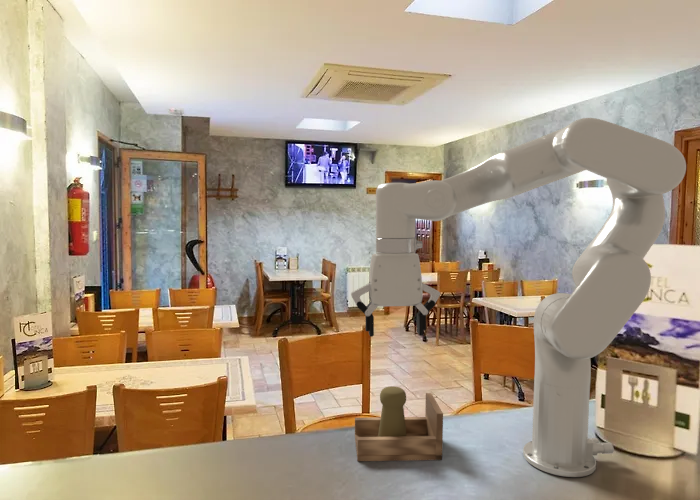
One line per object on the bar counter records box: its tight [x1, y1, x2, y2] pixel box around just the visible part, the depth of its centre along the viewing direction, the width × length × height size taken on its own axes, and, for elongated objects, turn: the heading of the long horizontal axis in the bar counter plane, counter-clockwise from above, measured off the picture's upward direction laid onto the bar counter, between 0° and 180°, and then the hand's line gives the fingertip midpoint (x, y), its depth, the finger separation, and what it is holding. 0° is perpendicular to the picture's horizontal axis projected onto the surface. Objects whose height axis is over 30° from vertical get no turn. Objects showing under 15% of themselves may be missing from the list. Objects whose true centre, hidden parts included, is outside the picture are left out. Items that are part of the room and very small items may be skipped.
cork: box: [378, 385, 407, 437], centre depth 95 cm, size 6×6×11 cm
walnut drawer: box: [354, 392, 444, 462], centre depth 95 cm, size 16×10×9 cm, turn 92°
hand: (395, 334), depth 94 cm, fingers open, 9 cm apart
